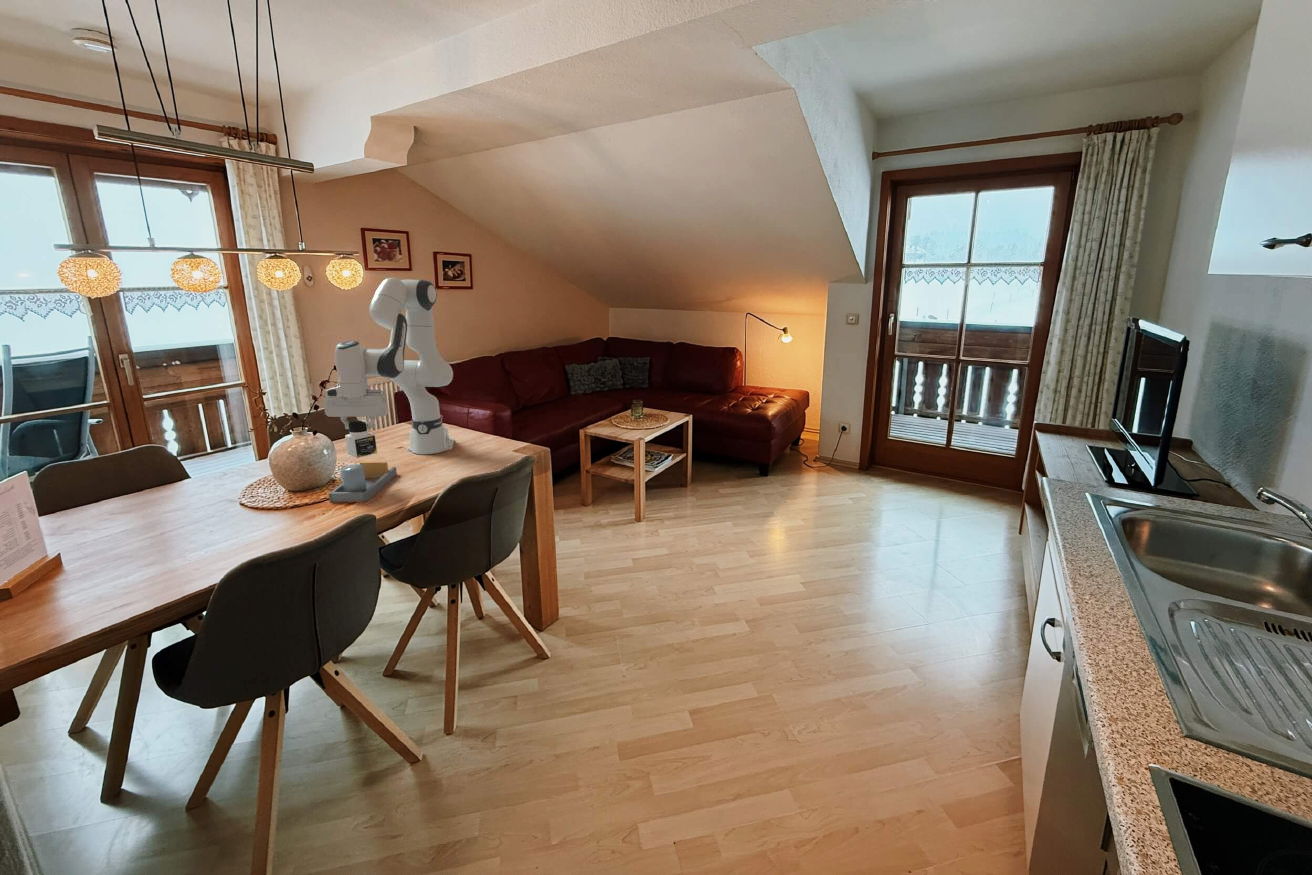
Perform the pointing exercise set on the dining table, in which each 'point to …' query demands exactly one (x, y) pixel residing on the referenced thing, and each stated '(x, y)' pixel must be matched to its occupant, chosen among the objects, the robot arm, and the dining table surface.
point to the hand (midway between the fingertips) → (359, 428)
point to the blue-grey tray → (372, 488)
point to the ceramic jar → (353, 478)
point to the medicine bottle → (360, 440)
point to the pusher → (374, 469)
